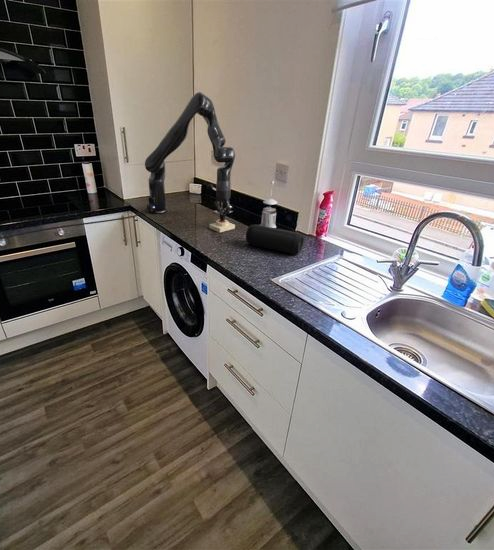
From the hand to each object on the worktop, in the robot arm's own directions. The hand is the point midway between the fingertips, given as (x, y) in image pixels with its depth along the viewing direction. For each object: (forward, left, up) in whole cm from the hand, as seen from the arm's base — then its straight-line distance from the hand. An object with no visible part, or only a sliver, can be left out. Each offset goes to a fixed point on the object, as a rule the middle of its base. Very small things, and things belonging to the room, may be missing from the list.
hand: (222, 220), depth 167 cm
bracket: (+19, +21, -4) cm, 29 cm away
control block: (0, 0, -4) cm, 4 cm away
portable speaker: (+1, -36, -4) cm, 36 cm away
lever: (+13, +21, +9) cm, 26 cm away
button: (0, 0, -2) cm, 2 cm away
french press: (+23, -13, -4) cm, 27 cm away
